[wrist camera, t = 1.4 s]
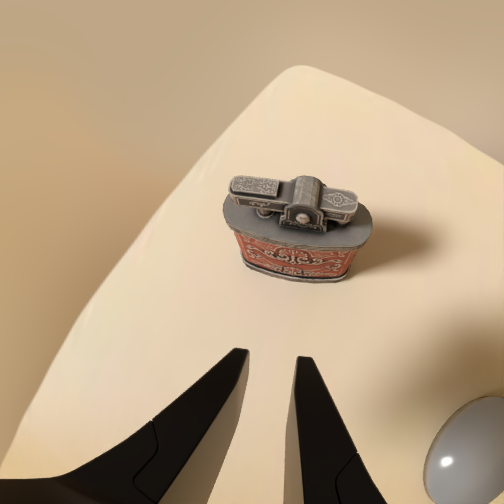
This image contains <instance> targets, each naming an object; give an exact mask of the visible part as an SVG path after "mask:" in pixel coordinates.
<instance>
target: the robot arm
mask: <svg viewBox="0 0 504 504" xmlns="http://www.w3.org/2000/svg"><path fill="white" fill-rule="evenodd" d="M249 356H250V353H249V350H248V349H242V348H234V349H232V350H231V351H230V352H229V353H228V354H227V355H226V356H225V357H224V358H222V359H221V360H220V361H219V362H218V363H217V364H216V365H215V366H213V367H212V368H211V369H210V370H209V371H208V372H207V373H206V374H204V375H203V376H202V377H201V378H200V379H199V380H198V381H196V382H195V383H194V384H193V385H192V386H191V387H190V388H188V389H187V390H186V391H185V392H184V393H183V394H181V395H180V396H179V397H178V398H177V399H176V400H174V401H173V402H172V403H171V404H170V405H168V406H167V407H166V408H165V409H164V410H162V411H161V412H160V413H159V414H158V415H156V416H155V417H154V418H153V419H152V421H153V422H152V421H149V422H148V423H146V424H145V425H144V426H143V427H142V428H140V429H139V430H138V431H136V432H135V433H134V434H132V435H131V436H130V437H128V438H127V439H126V440H124V441H123V442H121V443H119V444H118V445H116V446H115V447H113V448H112V449H110V450H108V451H107V452H105V453H103V454H102V455H100V456H98V457H96V458H95V459H93V460H91V461H89V462H88V463H86V464H84V465H82V466H80V467H79V468H77V469H75V470H73V471H71V472H69V473H66V474H64V475H60V476H56V477H51V478H36V479H0V504H207V502H208V499H209V497H210V494H211V492H212V489H213V487H214V484H215V482H216V479H217V477H218V474H219V472H220V469H221V467H222V464H223V462H224V459H225V456H226V454H227V451H228V449H229V446H230V443H231V441H232V438H233V435H234V433H235V430H236V427H237V424H238V421H239V417H240V413H241V408H242V403H243V399H244V394H245V390H246V385H247V380H248V375H249ZM283 504H387V502H386V501H385V499H384V498H383V496H382V495H381V493H380V492H379V490H378V488H377V487H376V485H375V484H374V482H373V480H372V479H371V477H370V475H369V473H368V471H367V469H366V467H365V465H364V463H363V461H362V459H361V457H360V455H359V453H357V449H356V447H355V445H354V443H353V441H352V438H351V436H350V434H349V432H348V430H347V428H346V426H345V424H344V422H343V420H342V418H341V416H340V413H339V411H338V409H337V407H336V405H335V403H334V401H333V399H332V397H331V395H330V393H329V391H328V389H327V387H326V384H325V382H324V380H323V378H322V376H321V374H320V372H319V370H318V368H317V366H316V364H315V362H314V360H313V358H311V357H304V356H298V357H297V360H296V366H295V372H294V378H293V384H292V391H291V398H290V405H289V412H288V418H287V425H286V438H285V475H284V501H283Z"/></svg>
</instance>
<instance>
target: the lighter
mask: <svg viewBox="0 0 504 504" xmlns="http://www.w3.org/2000/svg"><path fill="white" fill-rule="evenodd" d="M228 191H229V194H228V196H227V197H226V199H225V201H224V204H223V214H224V218H225V220H226V223H227V224H228V226H229V227H230V229H231V230H233V231H234V233H235V236H236V238H237V241H238V243H239V246H240V248H241V250H240V253H241V257H242V260H243V262H244V263H245V265H246V266H247V267H249V268H250V269H252V270H255V271H258V272H260V273H263V274H266V275H268V276H271V277H276V278H280V279H284V280H288V281H293V282H303V283H336V282H340V281H341V280H343V279H344V278H345V276H346V275H347V273H348V272H349V270H350V266H351V262H352V260H353V258H354V256H355V255H356V253H357V251H358V249H359V248H361V247H362V246H363V245H364V244H365V242H366V241H367V239H368V238H369V236H370V234H371V231H372V226H373V225H372V217H371V215H370V213H369V211H368V210H367V209H366V207H365V206H364V205H362V204H361V203H359V202H358V197H357V195H356V194H355V193H354V192H352V191H348V190H343V189H337V188H330V187H327V186H326V185H325V184H323V183H322V182H321V181H320V180H319V179H317V178H315V177H311V176H299V177H297V178H296V179H293V180H291V181H283V180H275V179H267V178H259V177H250V176H235V177H233V178H232V179H231V181H230V184H229V189H228Z"/></svg>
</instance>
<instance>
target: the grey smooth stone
mask: <svg viewBox="0 0 504 504" xmlns="http://www.w3.org/2000/svg"><path fill="white" fill-rule="evenodd" d="M423 481H424V487H425V490H426V493H427V495H428V496H429V498H430V499H431V500H432V501H433V502H434V503H435V504H488V503H490V502H491V501H492V500H494V499H495V498H496V497H497V496H498V495H500V494H501V493H502V492H503V490H504V397H491V396H490V397H482V398H478V399H476V400H473V401H471V402H469V403H468V404H466V405H464V406H463V407H461V408H460V409H459V410H458V411H456V412H455V413H454V414H453V415H452V416H451V417H450V418H449V419H448V420H447V421H446V423H445V424H444V425H443V426H442V428H441V429H440V431H439V432H438V433H437V435H436V437H435V439H434V440H433V442H432V444H431V447H430V449H429V451H428V454H427V457H426V461H425V464H424V471H423Z"/></svg>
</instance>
